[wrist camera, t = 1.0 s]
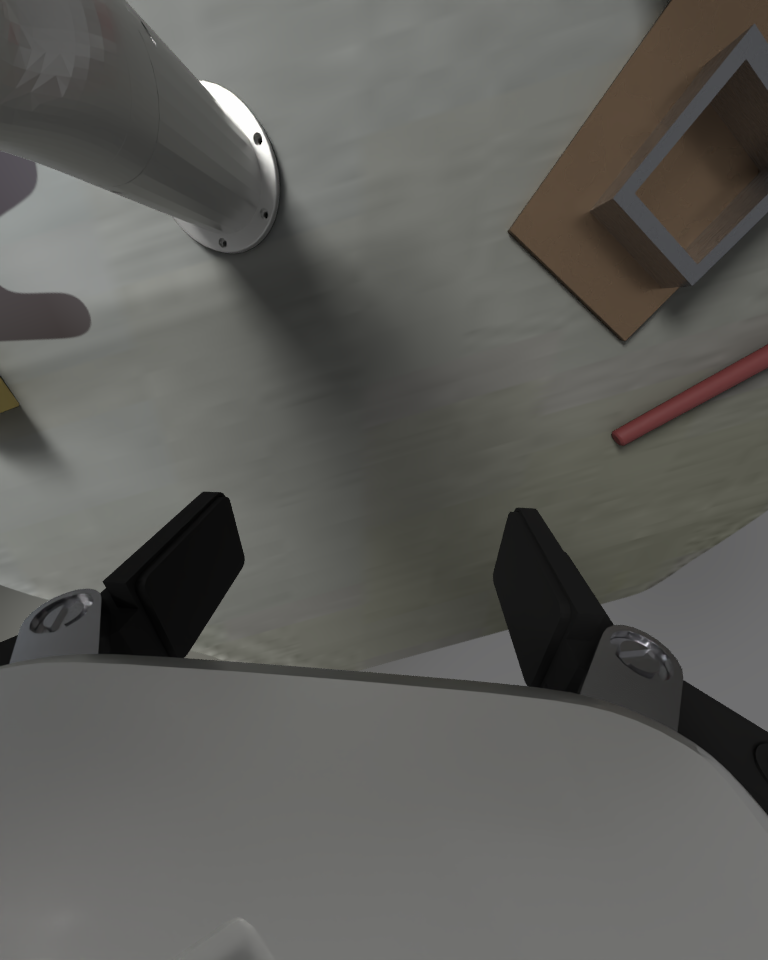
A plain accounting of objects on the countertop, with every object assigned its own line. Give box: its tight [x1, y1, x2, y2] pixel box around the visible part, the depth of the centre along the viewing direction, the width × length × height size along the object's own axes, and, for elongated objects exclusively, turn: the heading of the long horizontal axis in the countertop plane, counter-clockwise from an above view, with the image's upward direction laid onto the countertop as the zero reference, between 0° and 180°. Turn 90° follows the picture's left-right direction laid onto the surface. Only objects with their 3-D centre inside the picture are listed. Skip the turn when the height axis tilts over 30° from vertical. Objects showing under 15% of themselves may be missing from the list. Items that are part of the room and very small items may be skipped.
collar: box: [508, 0, 768, 341], centre depth 28 cm, size 18×22×5 cm
